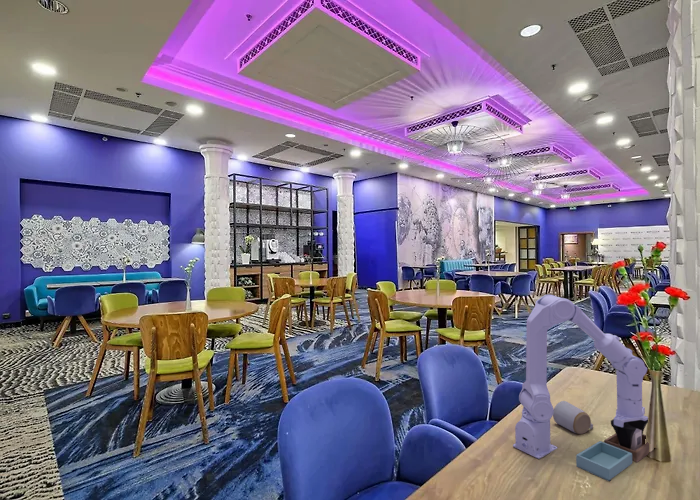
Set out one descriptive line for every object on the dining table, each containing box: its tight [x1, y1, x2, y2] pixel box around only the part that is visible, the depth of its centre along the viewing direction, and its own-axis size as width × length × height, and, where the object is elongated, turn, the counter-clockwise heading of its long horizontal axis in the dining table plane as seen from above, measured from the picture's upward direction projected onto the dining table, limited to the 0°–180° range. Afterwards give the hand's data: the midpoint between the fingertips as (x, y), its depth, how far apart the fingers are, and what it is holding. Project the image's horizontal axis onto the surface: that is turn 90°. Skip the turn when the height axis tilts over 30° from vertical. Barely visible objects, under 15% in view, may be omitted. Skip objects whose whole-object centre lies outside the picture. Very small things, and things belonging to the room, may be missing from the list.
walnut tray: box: [603, 432, 650, 463], centre depth 104 cm, size 13×8×3 cm, turn 122°
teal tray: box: [575, 440, 633, 482], centre depth 97 cm, size 13×8×3 cm, turn 122°
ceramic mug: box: [552, 400, 594, 435], centre depth 117 cm, size 11×8×8 cm
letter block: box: [619, 429, 642, 451], centre depth 104 cm, size 4×4×6 cm
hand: (630, 445), depth 104 cm, fingers open, 6 cm apart
